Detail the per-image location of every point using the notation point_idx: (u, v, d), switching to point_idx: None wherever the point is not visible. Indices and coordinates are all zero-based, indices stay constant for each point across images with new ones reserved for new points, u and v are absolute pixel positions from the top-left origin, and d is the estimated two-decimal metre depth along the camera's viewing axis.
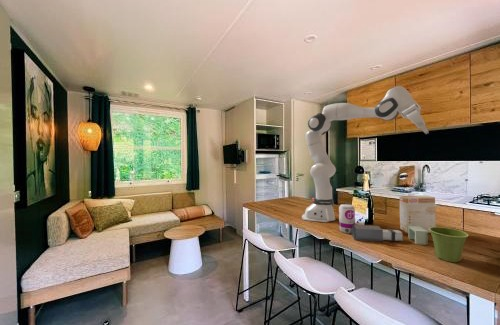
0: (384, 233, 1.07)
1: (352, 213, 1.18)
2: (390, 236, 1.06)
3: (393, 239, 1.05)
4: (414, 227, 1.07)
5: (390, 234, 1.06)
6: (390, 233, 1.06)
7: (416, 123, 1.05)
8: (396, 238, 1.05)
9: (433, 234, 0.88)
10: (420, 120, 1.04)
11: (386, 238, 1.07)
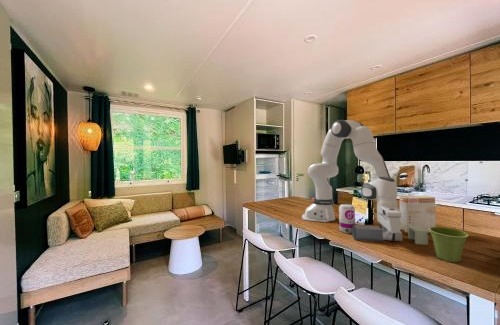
0: (384, 233, 1.07)
1: (352, 213, 1.18)
2: None
3: (393, 239, 1.05)
4: (414, 227, 1.07)
5: None
6: None
7: (392, 232, 0.99)
8: (396, 238, 1.05)
9: (433, 234, 0.88)
10: (397, 231, 0.98)
11: (386, 238, 1.07)
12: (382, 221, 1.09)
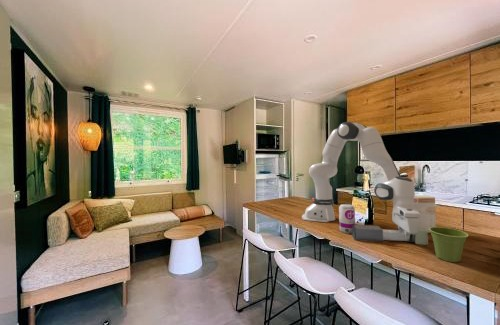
0: (401, 234, 1.05)
1: (352, 213, 1.18)
2: None
3: (410, 240, 1.03)
4: None
5: None
6: None
7: (411, 232, 0.97)
8: (413, 239, 1.04)
9: (433, 234, 0.88)
10: (416, 232, 0.96)
11: (403, 239, 1.05)
12: (399, 222, 1.07)
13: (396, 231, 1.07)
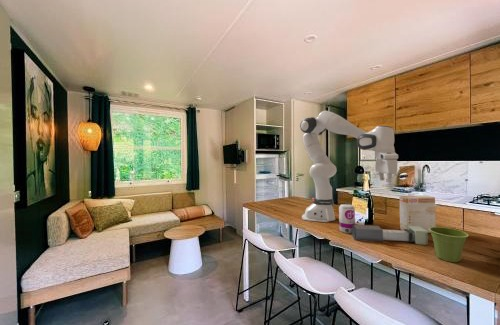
0: (401, 234, 1.05)
1: (352, 213, 1.18)
2: (407, 237, 1.04)
3: (410, 240, 1.03)
4: (414, 227, 1.07)
5: (407, 235, 1.04)
6: (407, 234, 1.04)
7: (390, 172, 1.05)
8: (413, 239, 1.04)
9: (433, 234, 0.88)
10: (394, 172, 1.04)
11: (403, 239, 1.05)
12: (380, 168, 1.15)
13: (396, 231, 1.07)
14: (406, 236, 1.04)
